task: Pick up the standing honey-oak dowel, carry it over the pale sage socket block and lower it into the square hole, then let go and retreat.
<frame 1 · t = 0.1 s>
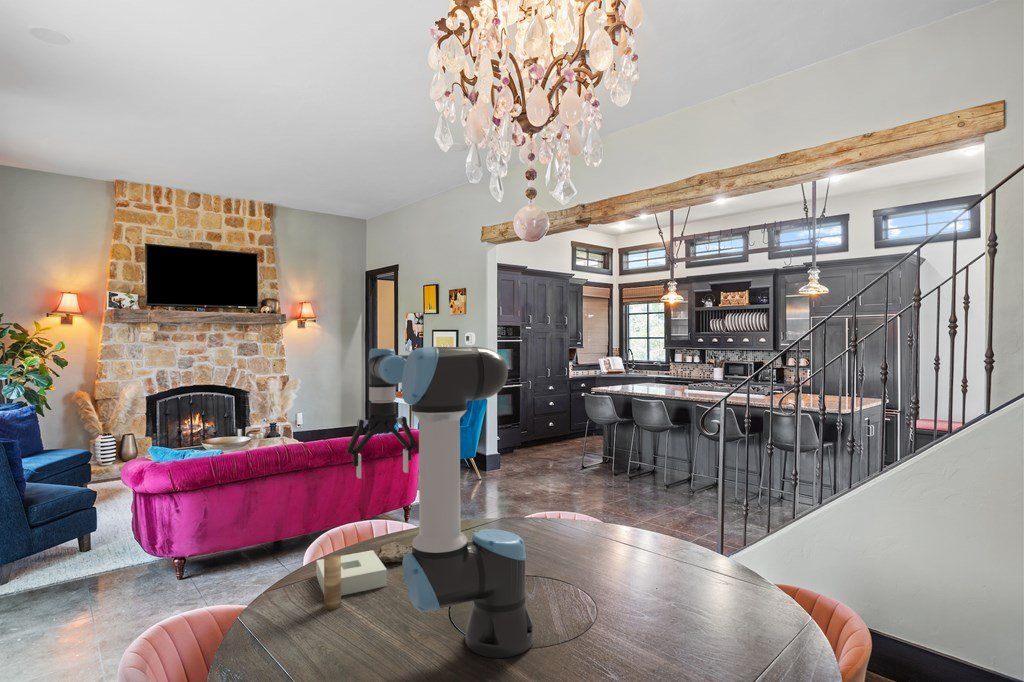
hand: (382, 474, 158), 28 cm above the table, fingers open, 13 cm apart
socket block: (350, 580, 151), on the table
rock: (395, 561, 166), on the table
dowel: (332, 606, 137), on the table
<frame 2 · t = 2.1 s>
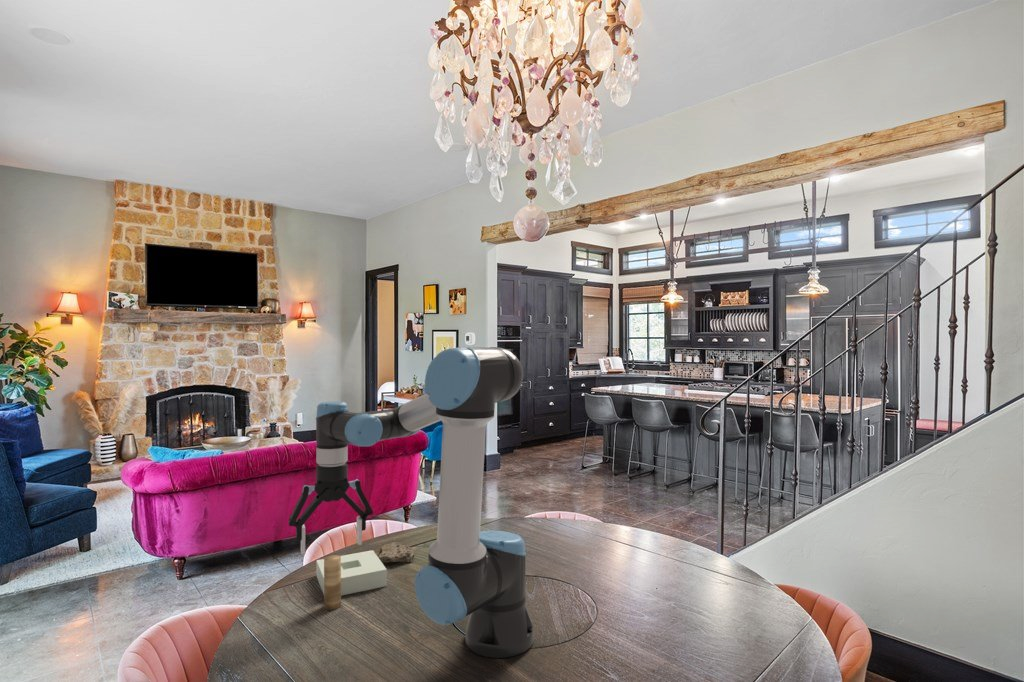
hand: (331, 548, 137), 14 cm above the table, fingers open, 13 cm apart
nothing on the table moved.
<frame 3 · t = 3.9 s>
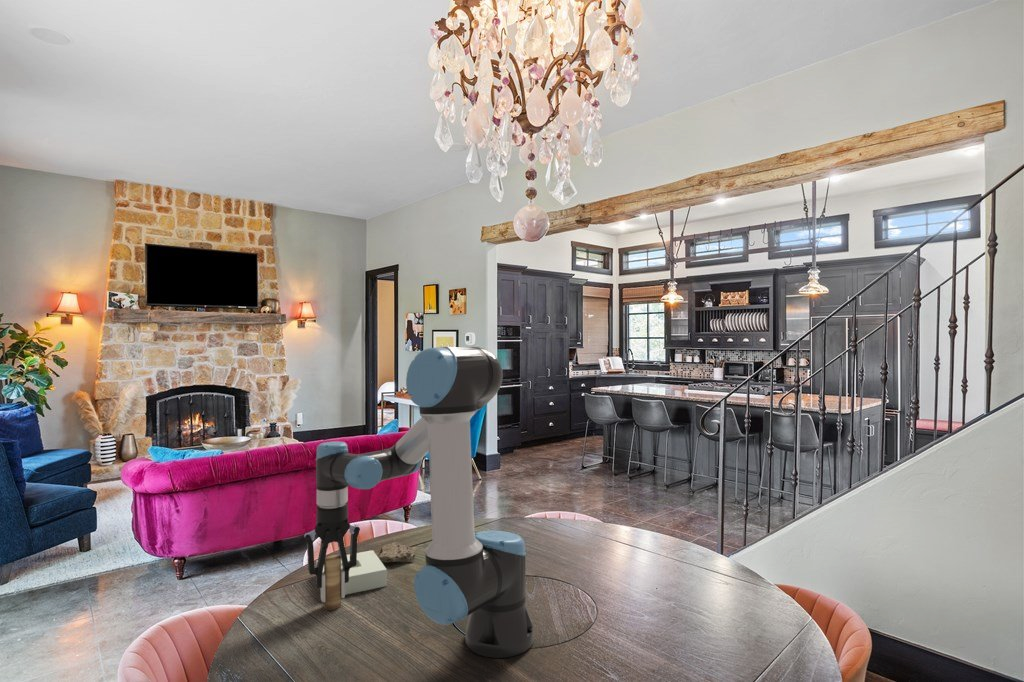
hand: (332, 597, 137), 2 cm above the table, fingers closed on dowel, 4 cm apart
dowel: (332, 606, 137), on the table, touching gripper
everything else where it was.
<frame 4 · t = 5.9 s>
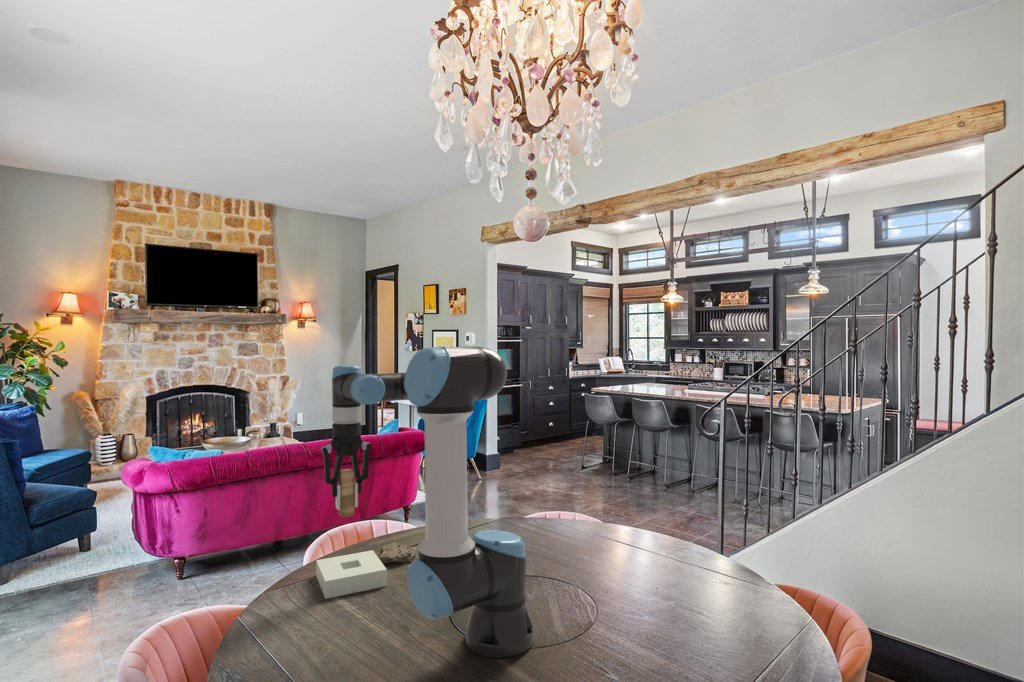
hand: (346, 506, 149), 21 cm above the table, fingers closed on dowel, 4 cm apart
dowel: (346, 514, 149), point 19 cm above the table, touching gripper
everything else where it was.
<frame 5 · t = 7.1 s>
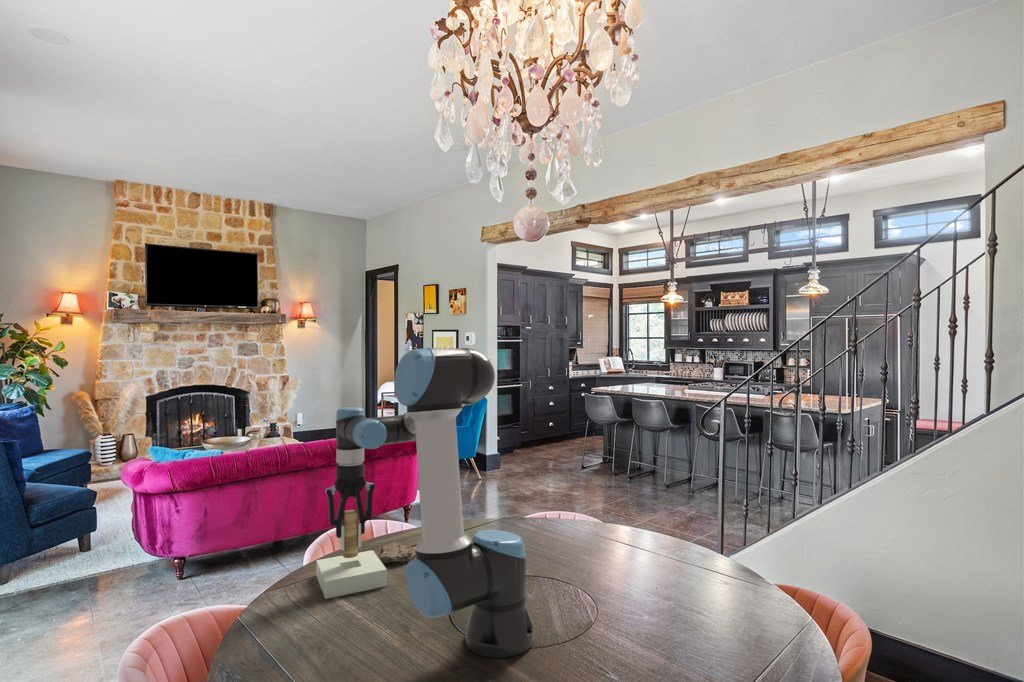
hand: (350, 547, 152), 9 cm above the table, fingers closed on dowel, 4 cm apart
dowel: (350, 555, 152), point 7 cm above the table, touching gripper
everything else where it was.
when the fingers open (6 cm above the table, at t = 8.1 s): dowel drops 2 cm, resting in socket block.
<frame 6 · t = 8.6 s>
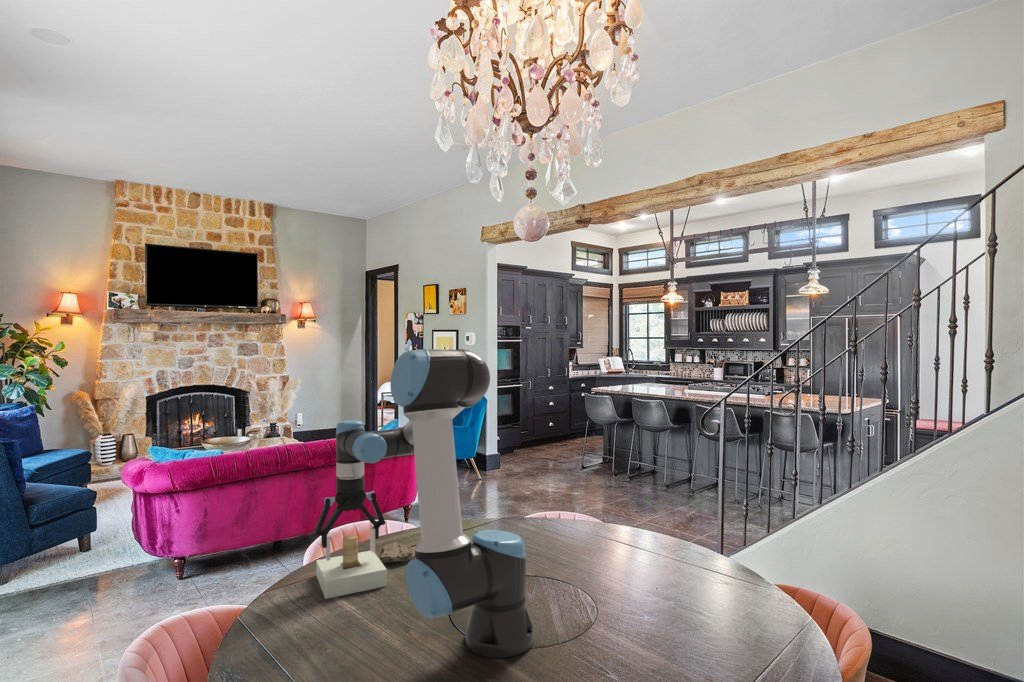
hand: (350, 554, 152), 7 cm above the table, fingers open, 11 cm apart
dowel: (350, 581, 151), resting in socket block
everything else where it was.
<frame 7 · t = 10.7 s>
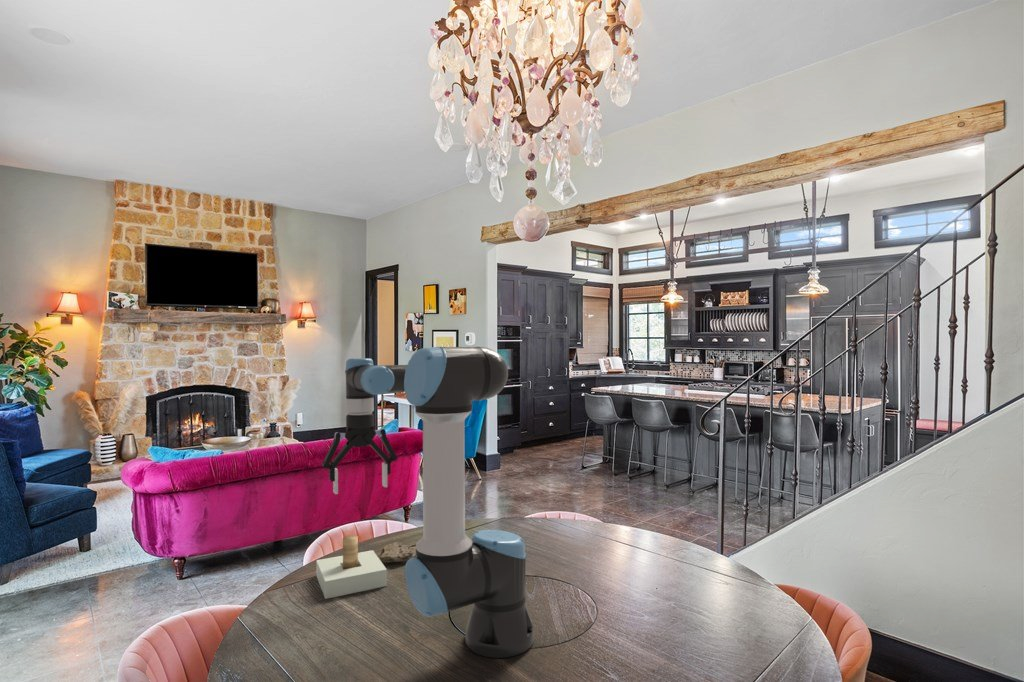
hand: (360, 489, 152), 25 cm above the table, fingers open, 13 cm apart
nothing on the table moved.
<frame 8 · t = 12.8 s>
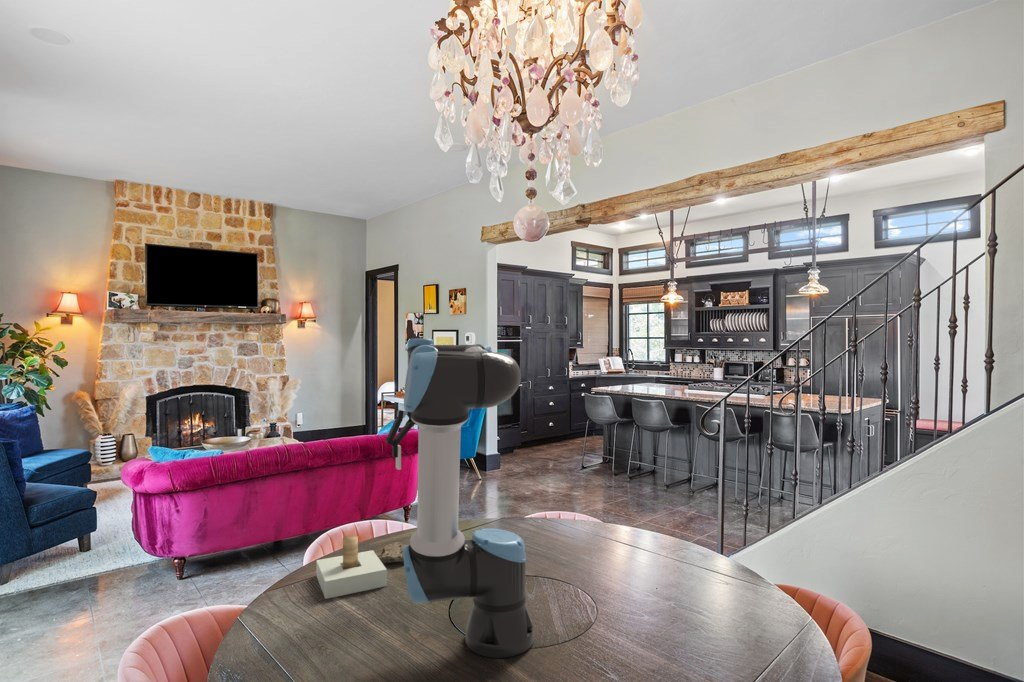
hand: (421, 466, 156), 31 cm above the table, fingers open, 13 cm apart
nothing on the table moved.
at the end: dowel 0.1 cm off-centre on the socket block, point 0.0 cm above the socket block's base; dowel tilted 0°; the gripper is holding nothing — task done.
